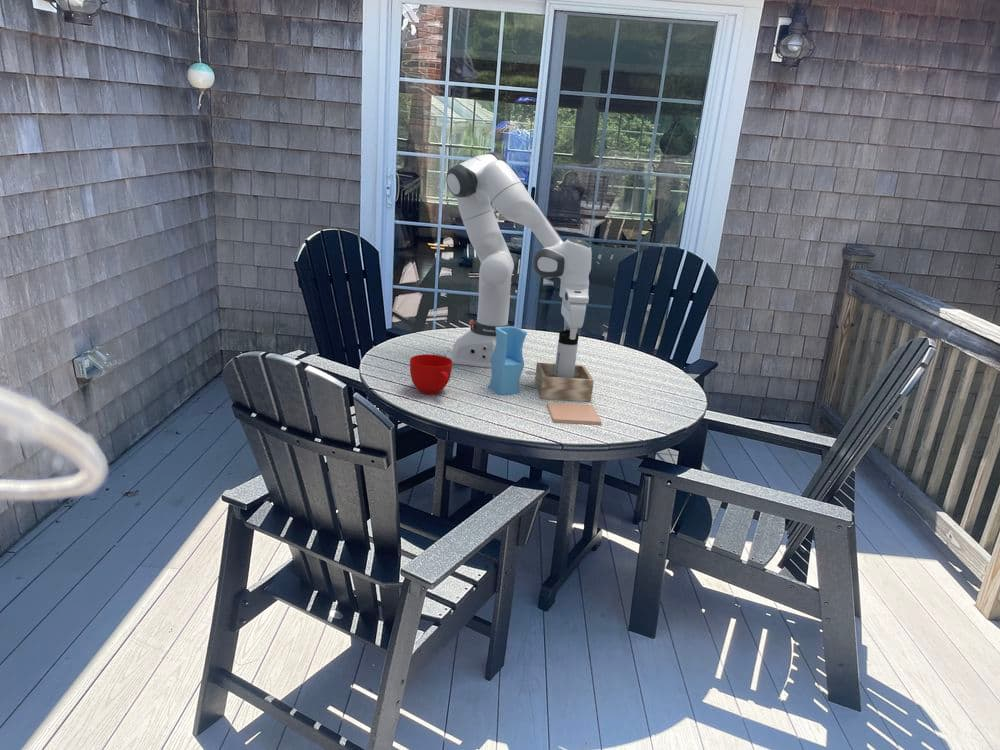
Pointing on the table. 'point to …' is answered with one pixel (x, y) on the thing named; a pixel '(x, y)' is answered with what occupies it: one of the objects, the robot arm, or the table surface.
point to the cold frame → (563, 383)
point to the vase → (507, 360)
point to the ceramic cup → (430, 372)
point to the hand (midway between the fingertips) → (569, 335)
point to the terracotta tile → (573, 413)
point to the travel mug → (566, 355)
